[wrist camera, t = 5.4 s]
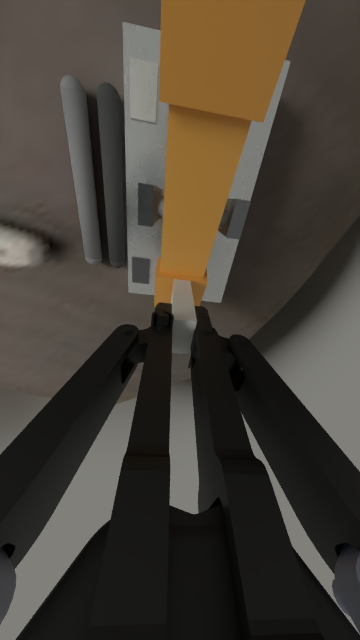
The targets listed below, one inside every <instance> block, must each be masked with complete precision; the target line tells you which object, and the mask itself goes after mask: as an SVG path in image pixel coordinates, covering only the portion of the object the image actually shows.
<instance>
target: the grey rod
mask: <svg viewBox="0 0 360 640" xmlns="http://www.w3.org/2000/svg"><path fill="white" fill-rule="evenodd" d="M60 90H61V97H62V103H63V110H64V117H65V124H66V131H67V137H68V144H69V151H70V158H71V164H72V171H73V178H74V185H75V192H76V198H77V205H78V212H79V219H80V225H81V232H82V239H83V246H84V253H85V258H86V260H87V262H89V263H90V264H92V265H97V264H99V263H100V262H101V261H102V251H101V240H100V230H99V220H98V210H97V199H96V189H95V179H94V169H93V158H92V148H91V138H90V128H89V117H88V107H87V97H86V93H85V90H84V87H83V86H82V84H81V83H80V81H79V80H78V79H77V78H75V77H74V76H72V75H65V76H64V77H63V78H62V79H61V83H60Z"/></svg>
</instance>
